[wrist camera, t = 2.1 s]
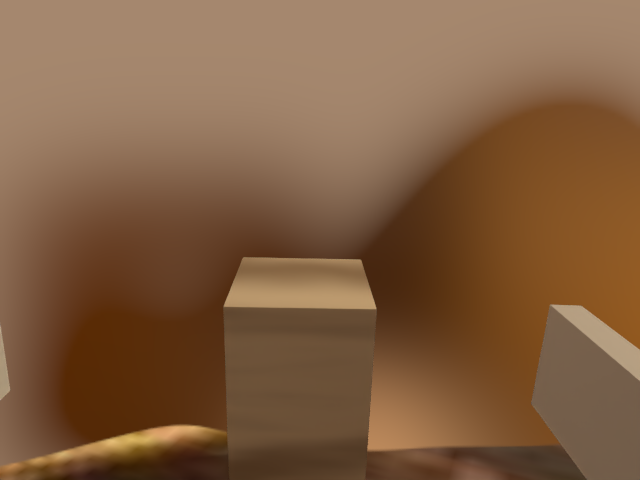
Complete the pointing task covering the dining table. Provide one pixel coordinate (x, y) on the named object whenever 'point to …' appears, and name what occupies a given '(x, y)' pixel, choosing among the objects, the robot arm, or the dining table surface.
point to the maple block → (299, 369)
